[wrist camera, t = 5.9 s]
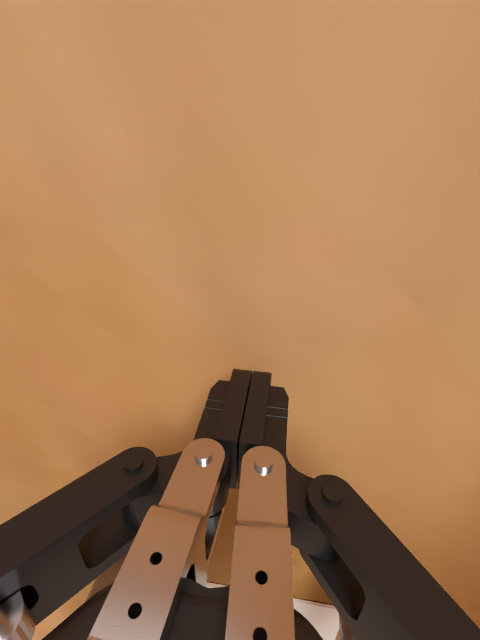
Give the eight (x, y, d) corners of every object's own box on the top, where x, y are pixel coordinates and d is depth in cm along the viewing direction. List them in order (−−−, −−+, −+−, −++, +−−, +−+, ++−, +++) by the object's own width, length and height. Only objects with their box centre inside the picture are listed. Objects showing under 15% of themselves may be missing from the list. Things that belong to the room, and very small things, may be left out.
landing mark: (345, 607, 25) (345, 611, 25) (318, 679, 32) (319, 682, 32) (150, 571, 27) (149, 574, 26) (166, 647, 34) (166, 650, 33)
